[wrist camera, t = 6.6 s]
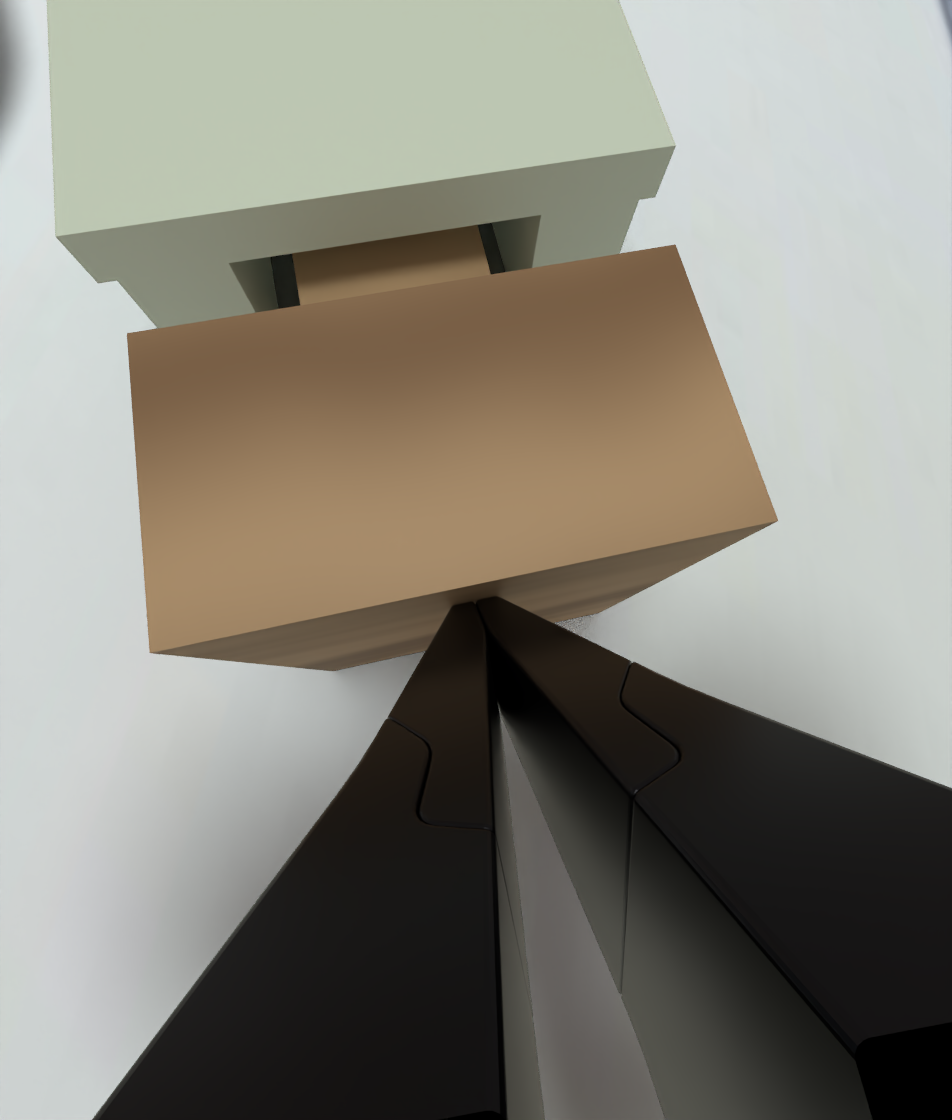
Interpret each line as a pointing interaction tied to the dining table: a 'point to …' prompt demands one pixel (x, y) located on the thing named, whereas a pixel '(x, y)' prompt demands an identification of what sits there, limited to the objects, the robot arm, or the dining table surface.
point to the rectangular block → (430, 450)
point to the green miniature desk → (338, 135)
